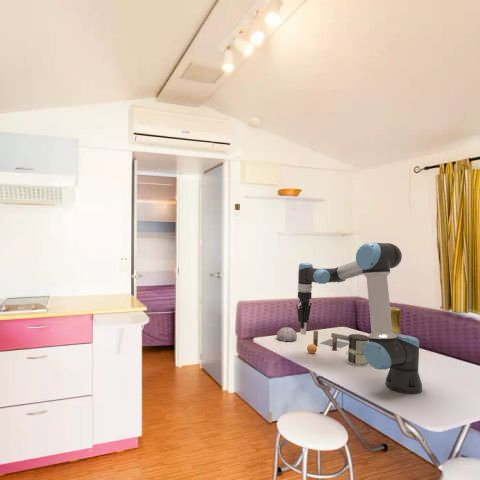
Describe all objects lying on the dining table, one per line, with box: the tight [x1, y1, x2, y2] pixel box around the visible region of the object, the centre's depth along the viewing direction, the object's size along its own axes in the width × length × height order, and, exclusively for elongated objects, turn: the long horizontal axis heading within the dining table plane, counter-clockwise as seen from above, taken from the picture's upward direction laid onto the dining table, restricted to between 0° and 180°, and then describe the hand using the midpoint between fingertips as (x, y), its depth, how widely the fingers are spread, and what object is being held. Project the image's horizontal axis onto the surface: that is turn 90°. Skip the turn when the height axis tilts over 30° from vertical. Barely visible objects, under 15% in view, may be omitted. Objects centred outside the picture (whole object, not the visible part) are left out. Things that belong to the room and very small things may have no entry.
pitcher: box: [390, 306, 402, 334], centre depth 239 cm, size 17×19×25 cm
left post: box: [312, 330, 319, 347], centre depth 237 cm, size 3×3×9 cm
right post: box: [331, 333, 338, 352], centre depth 229 cm, size 3×3×9 cm
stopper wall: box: [330, 332, 349, 342], centre depth 254 cm, size 2×18×2 cm, turn 51°
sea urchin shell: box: [276, 326, 298, 342], centre depth 250 cm, size 13×14×8 cm
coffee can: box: [347, 333, 369, 367], centre depth 206 cm, size 10×10×14 cm
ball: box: [306, 343, 318, 355], centre depth 220 cm, size 6×6×6 cm
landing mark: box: [319, 338, 349, 349], centre depth 244 cm, size 14×14×1 cm
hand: (303, 334), depth 213 cm, fingers closed
